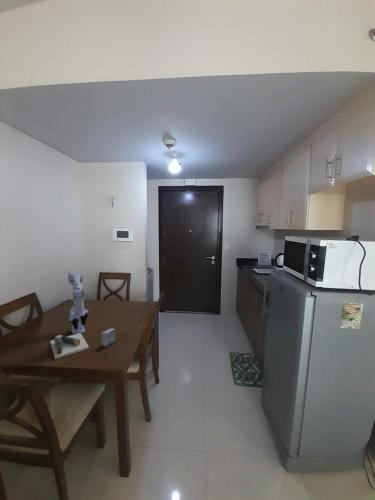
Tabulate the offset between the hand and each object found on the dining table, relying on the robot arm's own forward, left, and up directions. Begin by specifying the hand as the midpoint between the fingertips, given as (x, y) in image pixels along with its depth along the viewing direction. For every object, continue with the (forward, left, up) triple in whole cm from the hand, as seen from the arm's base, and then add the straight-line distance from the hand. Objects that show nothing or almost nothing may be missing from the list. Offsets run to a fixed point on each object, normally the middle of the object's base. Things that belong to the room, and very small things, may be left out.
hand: (79, 327), depth 143 cm
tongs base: (+4, -12, -8) cm, 15 cm away
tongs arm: (+3, -8, -8) cm, 11 cm away
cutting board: (+3, -7, -9) cm, 12 cm away
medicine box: (+15, +14, -10) cm, 23 cm away
